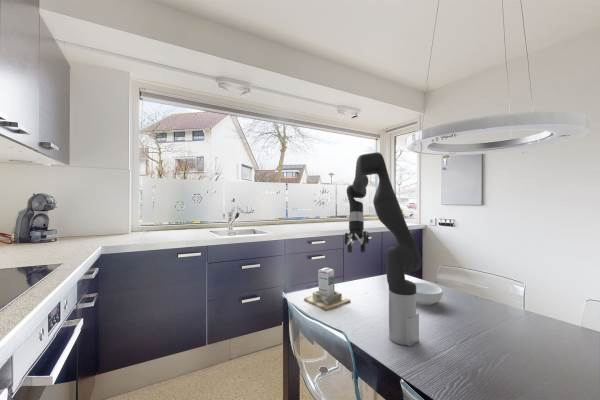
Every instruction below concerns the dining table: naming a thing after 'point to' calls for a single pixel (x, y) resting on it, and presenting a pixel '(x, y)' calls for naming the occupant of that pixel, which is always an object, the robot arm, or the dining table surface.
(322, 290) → the syrup box
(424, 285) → the cereal bowl
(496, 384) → the dining table surface
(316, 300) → the socket
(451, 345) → the dining table surface
